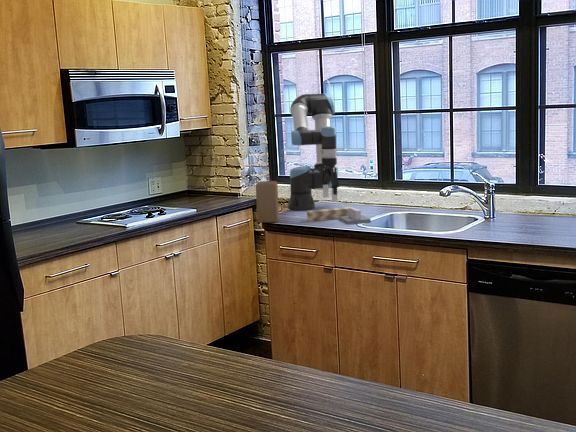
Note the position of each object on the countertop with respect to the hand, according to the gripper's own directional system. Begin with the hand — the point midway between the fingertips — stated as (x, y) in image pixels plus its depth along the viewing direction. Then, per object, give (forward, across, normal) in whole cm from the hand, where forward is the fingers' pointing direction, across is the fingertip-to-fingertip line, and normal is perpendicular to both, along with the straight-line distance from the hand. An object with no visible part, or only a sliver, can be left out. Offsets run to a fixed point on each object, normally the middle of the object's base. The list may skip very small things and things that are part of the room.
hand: (330, 199), depth 342 cm
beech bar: (+10, -1, 0) cm, 11 cm away
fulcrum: (+10, +10, +9) cm, 17 cm away
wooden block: (+10, -9, -31) cm, 34 cm away
